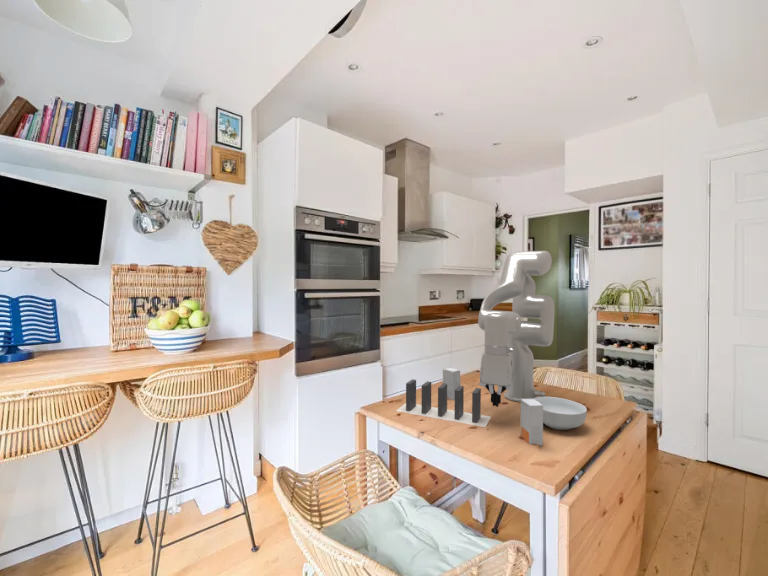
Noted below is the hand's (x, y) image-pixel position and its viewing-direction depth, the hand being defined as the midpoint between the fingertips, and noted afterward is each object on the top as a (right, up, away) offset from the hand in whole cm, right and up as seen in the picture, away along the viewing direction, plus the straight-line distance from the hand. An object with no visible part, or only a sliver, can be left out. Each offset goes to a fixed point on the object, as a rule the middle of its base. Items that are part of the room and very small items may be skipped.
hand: (495, 405), depth 120 cm
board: (-16, -6, +8) cm, 19 cm away
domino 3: (-16, -6, +8) cm, 19 cm away
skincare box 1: (-10, -6, +26) cm, 29 cm away
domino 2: (-22, -6, +11) cm, 25 cm away
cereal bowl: (+21, -7, 0) cm, 22 cm away
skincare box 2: (+7, -7, -12) cm, 16 cm away
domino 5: (-6, -6, +3) cm, 9 cm away
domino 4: (-11, -6, +6) cm, 14 cm away
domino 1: (-27, -6, +14) cm, 31 cm away
